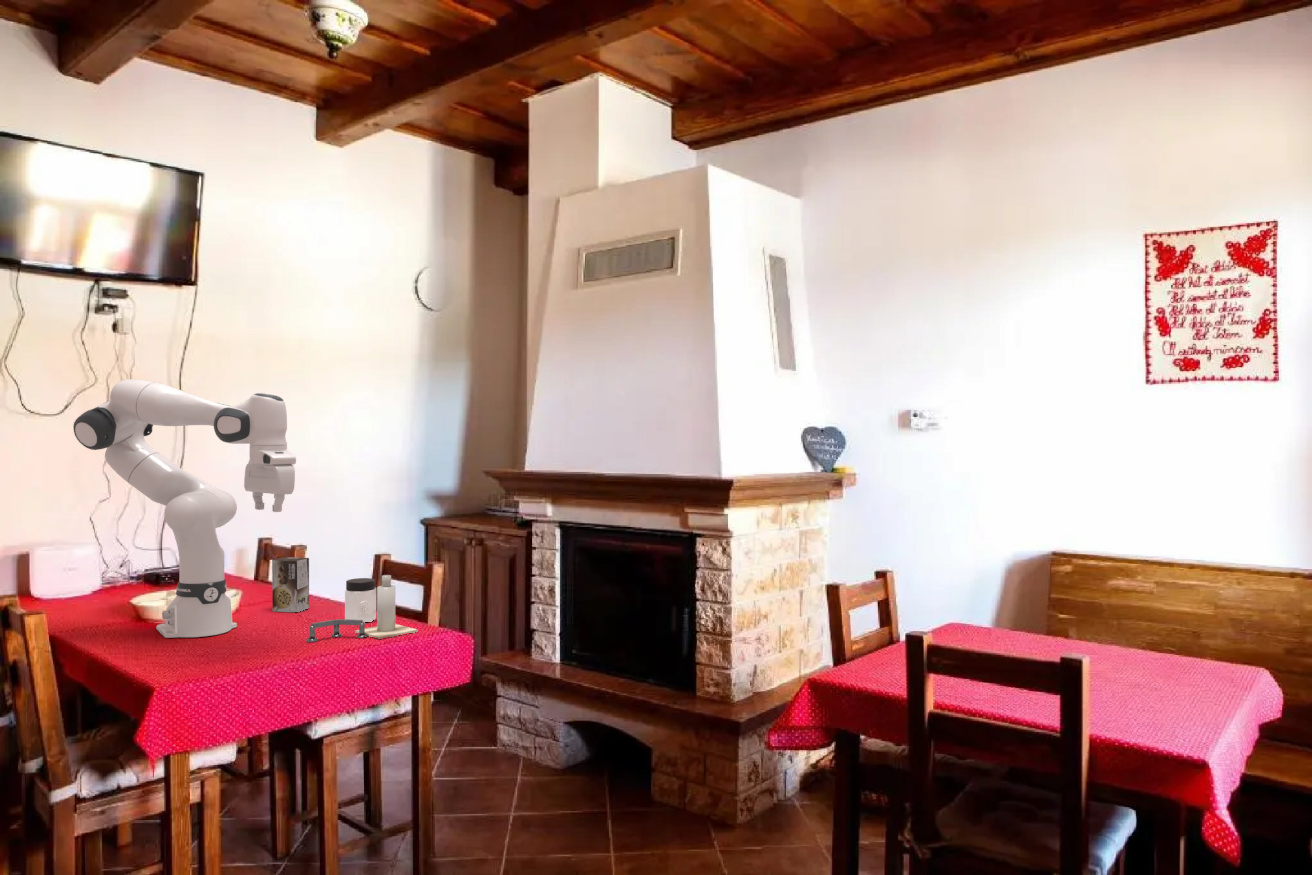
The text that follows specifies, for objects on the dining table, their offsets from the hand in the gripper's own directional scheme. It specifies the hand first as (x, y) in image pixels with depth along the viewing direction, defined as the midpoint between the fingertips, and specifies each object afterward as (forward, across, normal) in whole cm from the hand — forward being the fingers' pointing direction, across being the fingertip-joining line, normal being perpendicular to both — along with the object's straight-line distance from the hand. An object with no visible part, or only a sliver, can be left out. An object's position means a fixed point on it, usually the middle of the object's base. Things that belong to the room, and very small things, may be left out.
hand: (268, 510), depth 228 cm
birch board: (+35, +8, +29) cm, 47 cm away
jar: (+35, -11, +33) cm, 50 cm away
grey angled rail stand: (+35, +5, +16) cm, 39 cm away
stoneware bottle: (+34, +8, +29) cm, 46 cm away
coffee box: (+35, -41, +27) cm, 60 cm away
